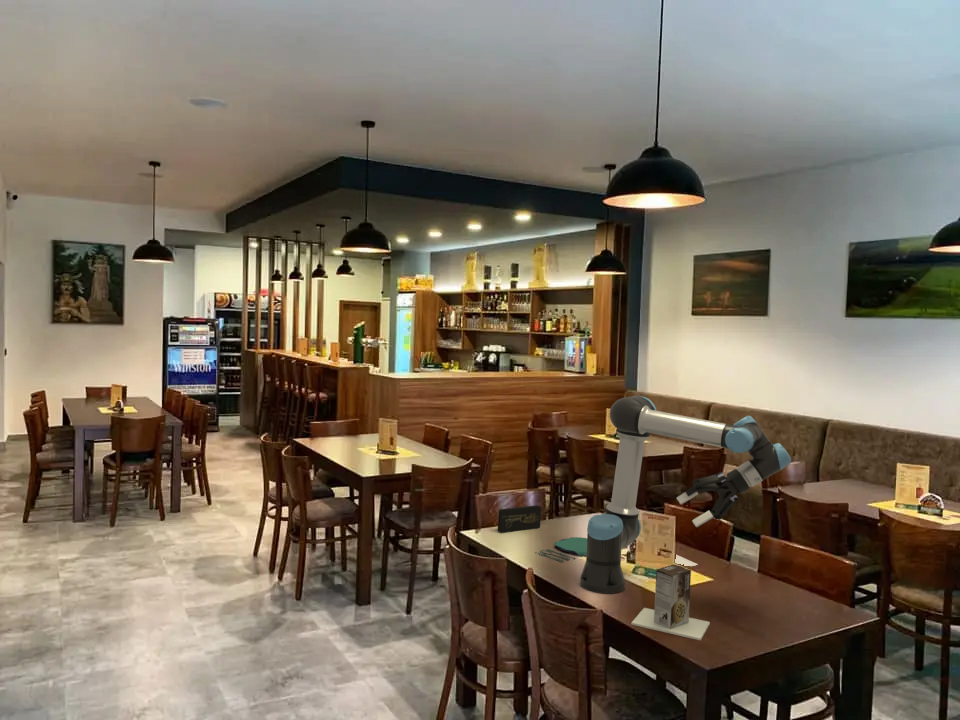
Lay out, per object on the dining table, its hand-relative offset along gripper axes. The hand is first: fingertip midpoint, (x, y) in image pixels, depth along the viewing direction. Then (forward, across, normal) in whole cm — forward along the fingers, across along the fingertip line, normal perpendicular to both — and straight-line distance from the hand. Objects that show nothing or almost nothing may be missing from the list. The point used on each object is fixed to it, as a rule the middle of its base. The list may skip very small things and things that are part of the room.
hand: (686, 512), depth 233 cm
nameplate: (+65, +32, +64) cm, 96 cm away
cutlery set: (+47, +30, +36) cm, 66 cm away
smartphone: (+14, +48, +21) cm, 54 cm away
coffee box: (+22, +4, -28) cm, 36 cm away
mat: (+22, +5, -28) cm, 36 cm away
